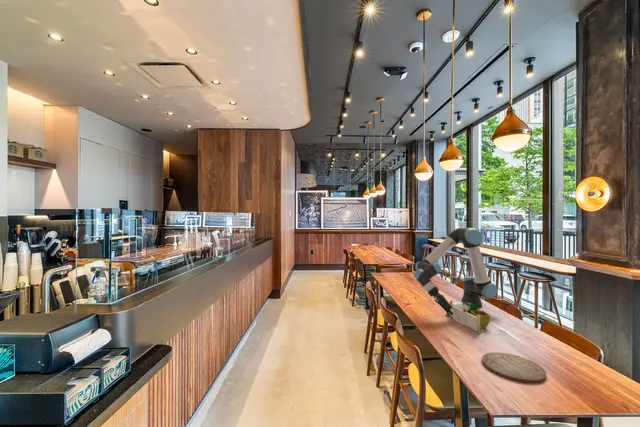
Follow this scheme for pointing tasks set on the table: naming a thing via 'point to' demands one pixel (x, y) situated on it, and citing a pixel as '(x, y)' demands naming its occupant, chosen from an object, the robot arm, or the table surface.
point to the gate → (460, 314)
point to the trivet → (514, 367)
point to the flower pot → (482, 318)
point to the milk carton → (465, 306)
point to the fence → (470, 320)
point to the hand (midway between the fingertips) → (456, 318)
